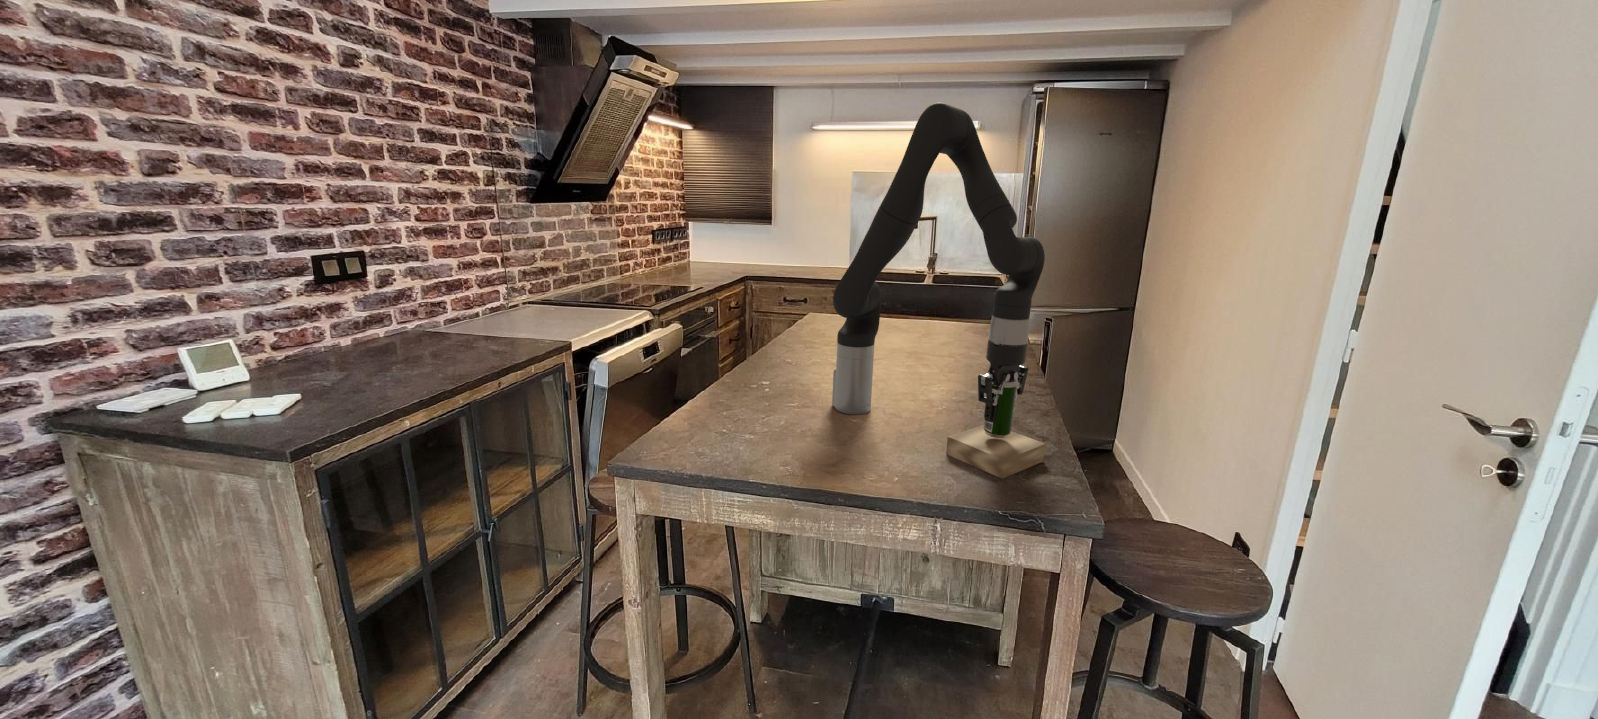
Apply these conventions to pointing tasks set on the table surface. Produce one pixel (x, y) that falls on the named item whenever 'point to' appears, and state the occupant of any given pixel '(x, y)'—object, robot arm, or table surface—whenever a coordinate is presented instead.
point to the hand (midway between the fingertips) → (998, 417)
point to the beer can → (1003, 412)
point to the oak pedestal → (995, 451)
